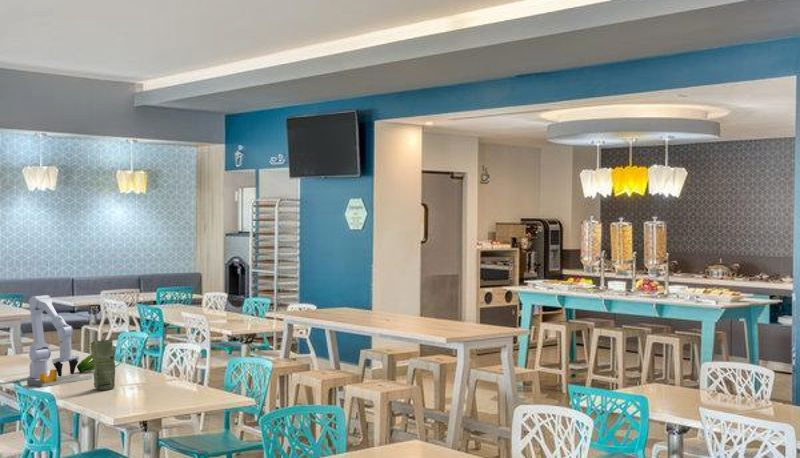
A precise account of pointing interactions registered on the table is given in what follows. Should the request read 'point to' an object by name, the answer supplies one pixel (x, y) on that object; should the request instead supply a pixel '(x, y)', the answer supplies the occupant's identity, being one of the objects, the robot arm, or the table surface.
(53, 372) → the pipe clamp
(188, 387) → the table surface
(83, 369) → the decorative plant
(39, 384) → the rail
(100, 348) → the pouch
